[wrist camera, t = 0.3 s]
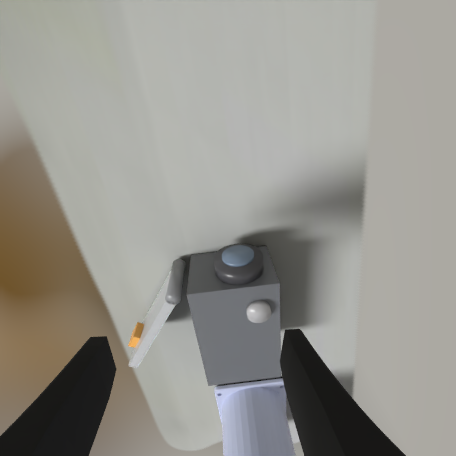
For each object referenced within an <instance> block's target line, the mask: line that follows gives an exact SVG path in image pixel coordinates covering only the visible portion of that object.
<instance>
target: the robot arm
mask: <svg viewBox="0 0 456 456" xmlns="http://www.w3.org/2000/svg"><path fill="white" fill-rule="evenodd" d="M280 366H281V371H282V377H283V378H280V379H272V380H264V381H256V382H248V383H240V384H232V385H224V386H217V387H215V396H216V401H217V405H218V410H219V414H220V418H221V423H222V429H223V456H296V455H295V451H294V446H293V442H292V438H291V434H290V429H289V425H288V421H287V416H286V395H287V398H288V401H289V405H290V408H291V412H292V415H293V419H294V422H295V425H296V429H297V432H298V435H299V439H300V442H301V445H302V449H303V452H304V456H406V455H405V454H404V453H403V452H402V451H401V450H400V449H399V448H398V447H397V446H396V445H395V444H394V443H393V442H391V440H390V439H389V438H388V437H387V436H386V435H385V434H384V433H383V432H382V431H381V430H380V429H379V428H378V427H377V426H376V425H375V423H373V421H372V420H371V419H370V418H369V417H368V416H367V415H366V414H365V413H364V411H363V410H362V409H361V408H360V407H359V406H358V404H357V403H356V402H355V401H354V400H353V399H352V397H351V396H350V395H349V394H348V393H347V391H346V390H345V389H344V388H343V386H342V385H341V384H340V383H339V381H338V380H337V379H336V378H335V376H334V375H333V374H332V373H331V371H330V370H329V369H328V367H327V366H326V365H325V363H324V362H323V361H322V359H321V358H320V357H319V355H318V354H317V352H316V351H315V350H314V348H313V347H312V345H311V344H310V342H309V341H308V340H307V338H306V337H305V335H304V334H303V332H302V331H301V330H300V329H289V330H285V333H284V339H283V345H282V351H281V357H280ZM115 372H116V367H115V363H114V360H113V356H112V353H111V350H110V346H109V343H108V340H107V337H90V338H89V339H88V341H87V342H86V343H85V344H84V345H83V346H82V348H81V349H80V350H79V351H78V352H77V354H76V355H75V356H74V357H73V358H72V359H71V361H70V362H69V363H68V364H67V365H66V366H65V367H64V369H63V370H62V371H61V372H60V373H59V374H58V375H57V377H56V378H55V379H54V380H53V381H52V382H51V383H50V384H49V386H48V387H47V388H46V389H45V390H44V391H43V392H42V393H41V394H40V396H39V397H38V398H37V399H36V400H35V401H34V402H33V403H32V404H31V405H30V406H29V407H28V408H27V409H26V410H25V411H24V412H23V413H22V415H21V416H20V417H19V418H18V419H17V420H16V421H15V422H14V423H13V424H12V425H11V426H10V427H9V428H8V429H7V430H6V431H5V432H4V433H3V434H2V435H1V436H0V456H89V453H90V450H91V447H92V445H93V442H94V439H95V436H96V434H97V431H98V428H99V425H100V423H101V420H102V417H103V414H104V411H105V409H106V405H107V403H108V400H109V397H110V393H111V389H112V385H113V381H114V377H115Z"/></svg>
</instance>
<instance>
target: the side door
mask: <svg viewBox="0 0 456 456" xmlns="http://www.w3.org/2000/svg"><path fill="white" fill-rule="evenodd" d="M185 266H186V264H185V262H184V261H183V260H181V259H177V260H175V261H174V262H173V265H172V269H171V271H170V273H169V275H168V277H167V278H166V280H165V282H164V284H163V286H162V287H161V289H160V291H159V293H158V295H157V297H156V298H155V300H154V302H153V304H152V306H151V307H150V309H149V311H148V313H147V315H146V317H145V318H144V320H143V322H142V323H139V322H138V323H137V325H136V327H135V328H134V330H133V333H132V336H131V339H130V342H129V345H128V346H131V347H134V349H133V352H132V356H131V359H130V362H129V366H131V367H135V368H138V366H139V364H140V363H141V361H142V360H143V358H144V356H145V355H146V353H147V351H148V350H149V348H150V346H151V345H152V343H153V341H154V340H155V338H156V336H157V335H158V333H159V331H160V330H161V328H162V326H163V325H164V323H165V321H166V320H167V318H168V316H169V315H170V313H171V311H172V310H173V308H174V307H175V305H176V304H178V303H179V302H180V301H181V294H182V287H183V280H184V273H185Z"/></svg>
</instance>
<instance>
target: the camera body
mask: <svg viewBox="0 0 456 456" xmlns="http://www.w3.org/2000/svg"><path fill="white" fill-rule="evenodd" d="M186 295H187V299H188V304H189V308H190V312H191V316H192V320H193V324H194V328H195V332H196V336H197V340H198V345H199V349H200V353H201V357H202V361H203V365H204V369H205V373H206V377H207V381H208V386H212V385H220V384H228V383H236V382H244V381H252V380H260V379H268V378H276V377H281V366H280V357H281V339H280V282H279V280H278V277H277V274H276V271H275V268H274V266H273V263H272V260H271V257H270V254H269V252H268V249H267V246H259V247H255V246H253V245H249V244H233V245H229V246H226V247H224V248H222V249H220V250H219V251H218V252H210V253H202V254H194V255H191V259H190V268H189V276H188V285H187V294H186Z"/></svg>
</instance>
